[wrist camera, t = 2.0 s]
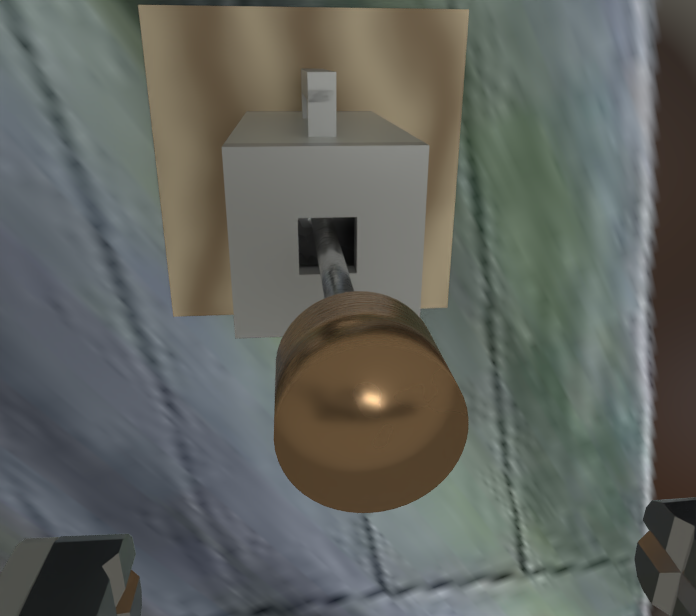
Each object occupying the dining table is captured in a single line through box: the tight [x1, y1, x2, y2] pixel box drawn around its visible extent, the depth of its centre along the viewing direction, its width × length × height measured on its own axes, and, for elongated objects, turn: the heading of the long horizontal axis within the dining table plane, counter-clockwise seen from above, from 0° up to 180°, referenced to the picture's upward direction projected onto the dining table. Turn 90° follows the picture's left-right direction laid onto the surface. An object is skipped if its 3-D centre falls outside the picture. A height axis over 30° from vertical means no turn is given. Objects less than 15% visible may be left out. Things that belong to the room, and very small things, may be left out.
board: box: [138, 5, 469, 317], centre depth 41 cm, size 20×20×2 cm
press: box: [222, 69, 429, 338], centre depth 32 cm, size 8×11×17 cm
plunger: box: [274, 217, 468, 513], centre depth 22 cm, size 6×6×20 cm
